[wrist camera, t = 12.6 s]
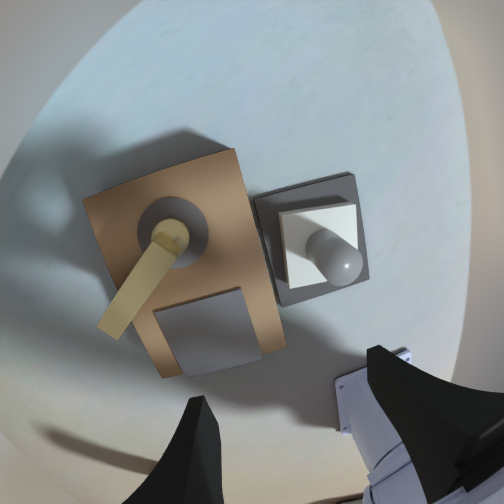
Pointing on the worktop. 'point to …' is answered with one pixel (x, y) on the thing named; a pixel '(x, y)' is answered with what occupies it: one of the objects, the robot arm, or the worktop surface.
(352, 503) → the ceramic mug
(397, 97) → the worktop surface
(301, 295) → the mat
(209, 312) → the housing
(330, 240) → the cover
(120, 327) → the lever handle
